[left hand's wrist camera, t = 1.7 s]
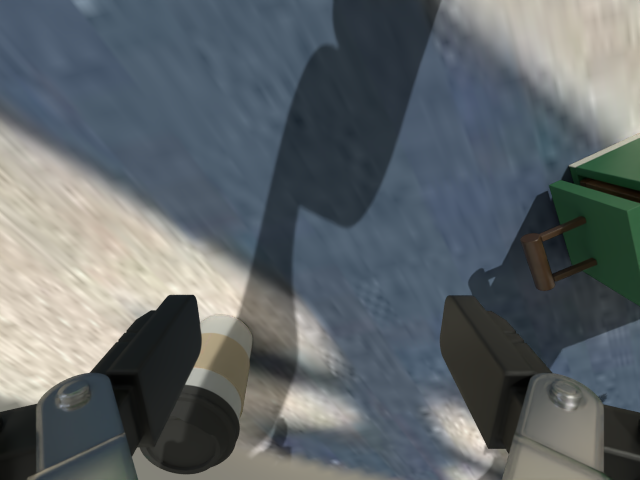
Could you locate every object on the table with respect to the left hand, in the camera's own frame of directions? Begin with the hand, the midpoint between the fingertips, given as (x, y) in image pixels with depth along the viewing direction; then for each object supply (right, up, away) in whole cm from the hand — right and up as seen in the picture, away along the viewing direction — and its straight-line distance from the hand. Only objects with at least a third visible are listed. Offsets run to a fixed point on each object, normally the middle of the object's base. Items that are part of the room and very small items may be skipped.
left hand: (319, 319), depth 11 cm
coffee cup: (-12, -9, +32) cm, 35 cm away
